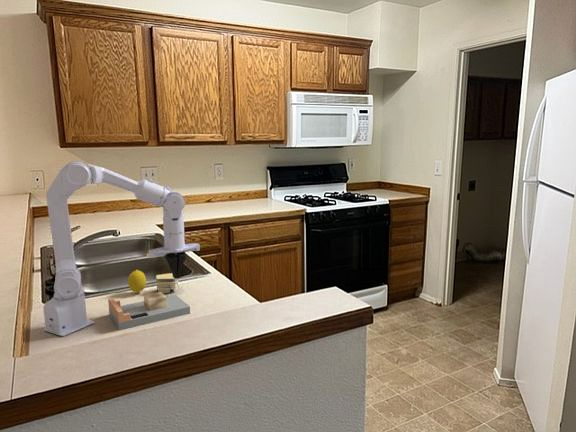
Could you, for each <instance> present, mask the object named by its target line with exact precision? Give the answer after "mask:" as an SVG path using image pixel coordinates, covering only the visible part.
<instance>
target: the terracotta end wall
mask: <svg viewBox="0 0 576 432" xmlns="http://www.w3.org/2000/svg"><path fill="white" fill-rule="evenodd" d="M107 299H108V300H107V301H108V310H109V309H110V311H111V312H112V314H113V315H114V317H115V318H116V319H117V321H118V322H119V323H121V322H125V321H130V320H131V317H130V313H127V314H123V311H122V309H121V308H120V307H121V306H122V305H121V300H115V298H114V297H108V298H107Z"/></svg>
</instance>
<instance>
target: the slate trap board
mask: <svg viewBox="0 0 576 432" xmlns="http://www.w3.org/2000/svg"><path fill="white" fill-rule="evenodd" d="M165 296H166V295H165ZM166 297H167V307H165V308H160V309H156V310H151V311H149V310H148V309H147V308H146V306H145V305H144V300H143V301H138V302H134V303H133V302H132V303H127V304H124V305H120V306H121V307H120V308H121V309H122V311H123V314H127V313H130V317H131V320H130V321H125V322H121V323H119V322H118V321H117V319H116V318H115V317H114V315H113V314H112V312H111V311H110V309H109V308H108V314H109V316H110V318H111V319H112V321H113V322H114V323H113V324H115V326H116V327H117V329H118V330H119V331H122V330H126V329H129V328H130V329H131V328H134V327H138V326H143V325H146V324H147V325H148V324H151V323H154V322H156V323H157V322H159V321H164V320H167V319H172V318H175V317H180V316H181V317H182V316H185V315H188V314H191V307H190V305H188V304H187V302H185V301H184V300H183V299H181V298H180V296H178V295H177V294H171V295H167V296H166Z"/></svg>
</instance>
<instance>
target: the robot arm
mask: <svg viewBox="0 0 576 432" xmlns="http://www.w3.org/2000/svg"><path fill="white" fill-rule="evenodd" d="M90 181H91V184H93V185H96V184H103V183H105V184H109V185H111V186H114V187H117V188H120V189H123V190H126V191H129V192H131V193H133V194H134V196H135V198H136V199H137V200H139V201H142V202H145V203H147V204H151V205H154V206H156V207H162V215H163V216H162V224H163V242H164V244H163V245H164V246H160V247H158V248H157V247H156V248H152V249H148V256H149V258H150V259H153V258H156V257H162V256H163V257H164V258H165V260H166V262H167V264H168V265H169V268H170V271H171V273H172V275H173V277H174V278H175V279H180V278H181V271H182V268H183V265H184V264H185V260H186V259H187V254H186V253H189V252H194V251H195V252H198V251H201V250H200V249H201V248H200V247H201V246H200V245H201V244H199V243H198V242H197V243H196V242H195V243H194V242H193V243H186V241H185V224H184V223H185V220H184V219H185V218H184V208H185V205H186V201H185V198H184V196H183V195H182V194H181V193H180V192H178V191H176V190H174V189H171V188H170V187H169V186H162V185H160V184H157V183H154V182H155V180H153V179H151V178H149V179H148V180H147V179H141V180H139V181H137V180H134V179H132V178H129V177H127V176H124V175H121V174H120V173H117V172H115V171H112V170H110V169H107V168H105V167H102V166H98V165H95V164H90V163H87V164H86V163H85V162H82V161H79V160H73V161H71V162H68V163H67V164H66V165H65V166H63V167H62V168H61V169H60V170H59V171H58V173H57V175H55V178H54V180H53V181H52V183H51V184H50V186H49V188H48V189H47V191H46V193H45V196H46V197H45V199H46V205H47V213H48V218H49V226H50V231H51V232H50V233H51V241H52V246H53V248H52V249H53V253H54V262H55V277H54V279H55V280H54V281H55V282H54V285H53V289H54V290H53V292H54V293H53V297H52V298H51V299H50V300H48V301H45V302H44V305H43V316H44V325H45V327H44V328H43V330H44V331H46V332H48V333H50V334H54V335H57V336H60V337H65V336H67V335H69V334H72V333H74V332H77V331H80V330H82V329H83V328H84V329H85V328H86V327H88V326H91V325H93V324H95V321H94V320H92V319H88V318H87V307H86V305H87V304H86V297H85V289H83V288H82V287H83V286H82V273H81V270H80V269H79V268H78V266H77V264H76V263H77V262H76V258H75V257H76V256H75V252H74V244H73V236H72V235H73V234H72V228H71V221H70V212H69V206H68V205H69V204H68V199H69V198H71V196H72V195H73V194H74V193H75V192H76V191H78V190H80V189H83V188H84V187H86V186H87V185H88V184H89V183H90Z"/></svg>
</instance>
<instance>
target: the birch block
mask: <svg viewBox="0 0 576 432" xmlns="http://www.w3.org/2000/svg"><path fill="white" fill-rule="evenodd" d="M143 301H144V305H145V306H146V308H147V309H148V310H149V311H151V310H156V309H160V308H165V307H167V297H166V295H165V293H161V292H159V291H158V292H155V293H150V294H145V295H143Z"/></svg>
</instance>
